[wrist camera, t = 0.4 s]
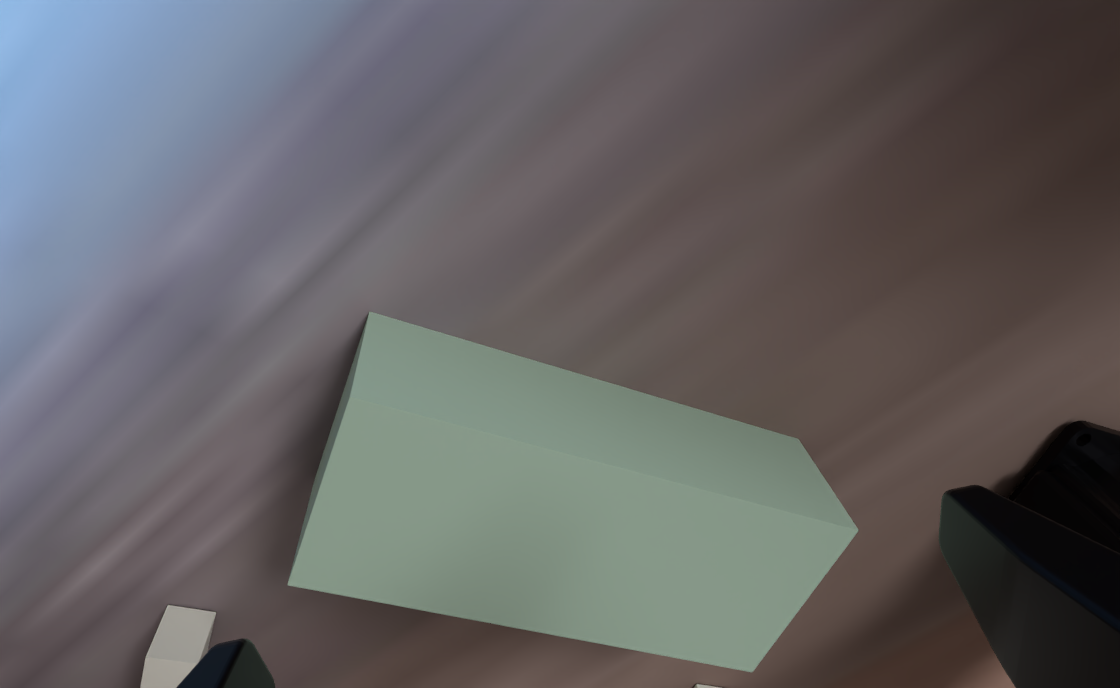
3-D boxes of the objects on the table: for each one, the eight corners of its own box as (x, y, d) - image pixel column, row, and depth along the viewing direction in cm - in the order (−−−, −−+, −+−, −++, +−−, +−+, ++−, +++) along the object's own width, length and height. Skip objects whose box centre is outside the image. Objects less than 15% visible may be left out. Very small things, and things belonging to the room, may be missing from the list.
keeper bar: (795, 433, 24) (858, 530, 21) (709, 564, 27) (752, 672, 23) (370, 306, 21) (350, 396, 17) (316, 472, 23) (287, 585, 19)
